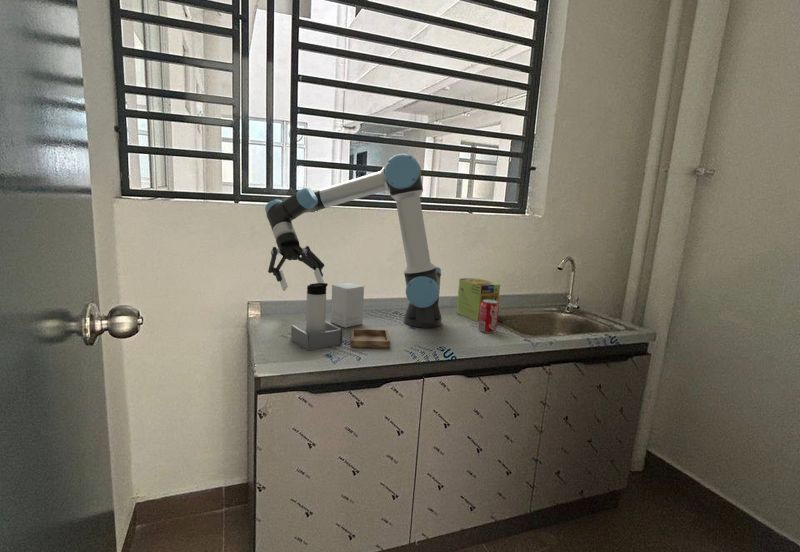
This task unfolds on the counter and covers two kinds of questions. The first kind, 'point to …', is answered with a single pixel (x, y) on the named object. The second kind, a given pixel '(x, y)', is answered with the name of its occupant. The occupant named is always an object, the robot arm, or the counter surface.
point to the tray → (370, 338)
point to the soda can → (488, 315)
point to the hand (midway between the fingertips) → (304, 287)
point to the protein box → (475, 296)
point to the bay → (317, 337)
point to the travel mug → (316, 308)
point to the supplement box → (347, 304)
